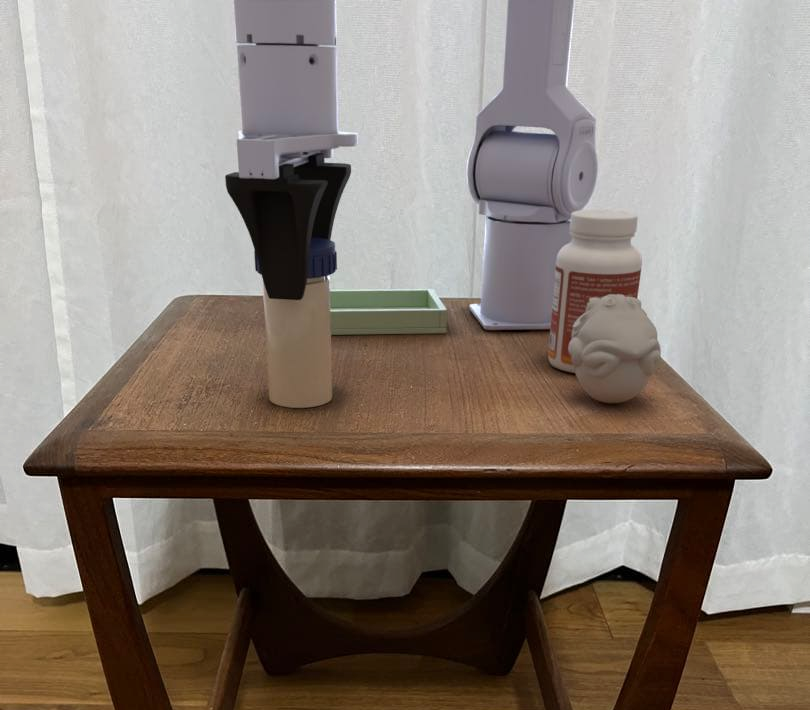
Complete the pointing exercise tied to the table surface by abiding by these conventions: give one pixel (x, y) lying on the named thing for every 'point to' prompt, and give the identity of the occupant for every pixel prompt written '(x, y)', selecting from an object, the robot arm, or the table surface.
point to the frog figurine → (614, 348)
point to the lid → (318, 258)
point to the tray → (387, 312)
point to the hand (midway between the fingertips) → (296, 289)
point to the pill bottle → (591, 272)
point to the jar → (299, 346)
